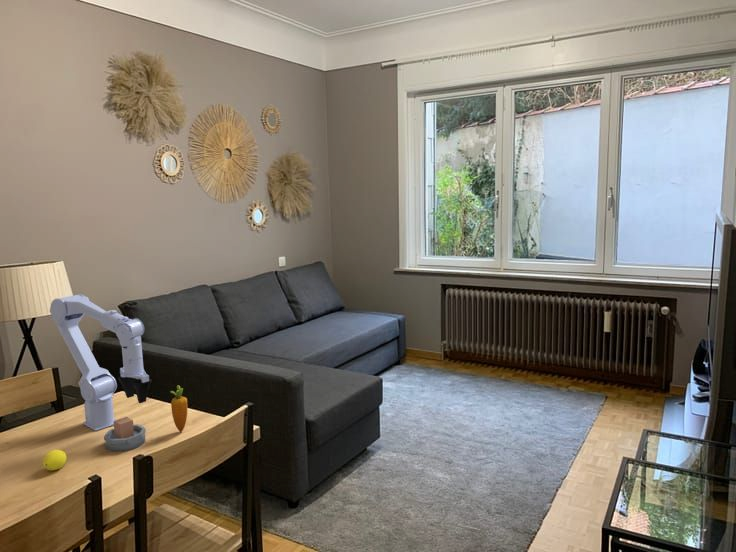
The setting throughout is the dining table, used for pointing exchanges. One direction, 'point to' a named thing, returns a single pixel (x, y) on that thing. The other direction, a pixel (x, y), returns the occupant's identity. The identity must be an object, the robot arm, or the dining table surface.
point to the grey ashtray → (125, 440)
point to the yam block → (123, 428)
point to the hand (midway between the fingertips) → (136, 399)
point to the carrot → (179, 409)
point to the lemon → (54, 460)
